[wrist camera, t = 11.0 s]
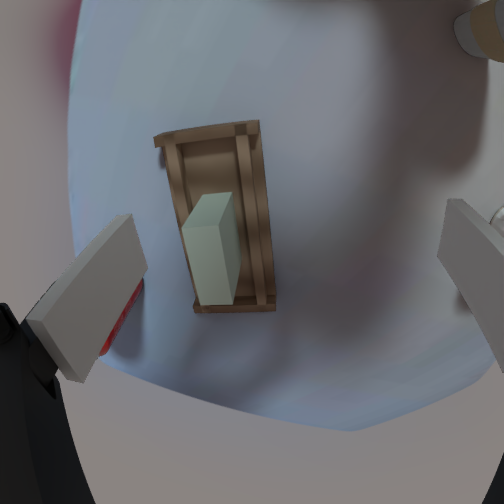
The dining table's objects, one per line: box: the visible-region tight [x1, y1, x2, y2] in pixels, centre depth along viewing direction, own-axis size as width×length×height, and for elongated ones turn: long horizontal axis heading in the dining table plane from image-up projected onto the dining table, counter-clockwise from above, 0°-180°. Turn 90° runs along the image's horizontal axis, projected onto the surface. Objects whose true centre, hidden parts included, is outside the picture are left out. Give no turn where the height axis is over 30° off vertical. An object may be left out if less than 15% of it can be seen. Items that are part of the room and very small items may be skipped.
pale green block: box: [181, 192, 242, 305], centre depth 34 cm, size 9×4×9 cm, turn 6°
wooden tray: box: [153, 120, 276, 313], centre depth 37 cm, size 24×11×3 cm, turn 6°
